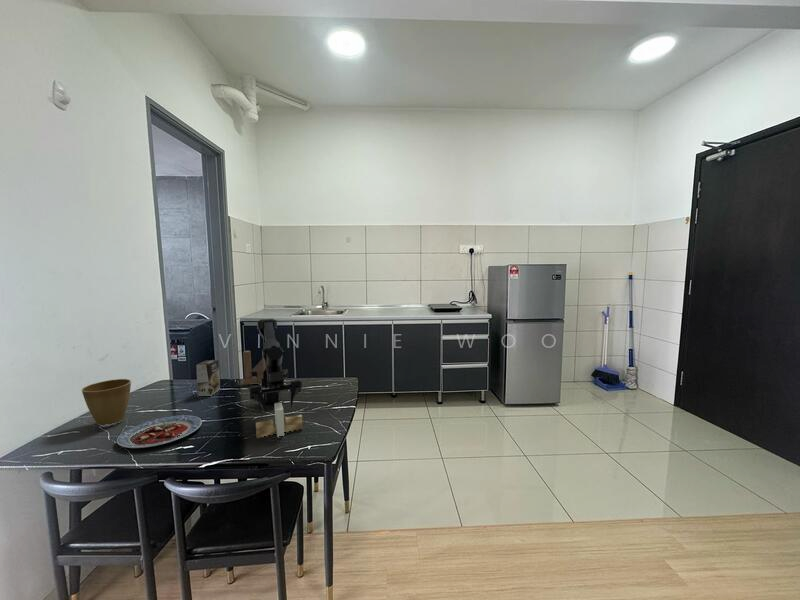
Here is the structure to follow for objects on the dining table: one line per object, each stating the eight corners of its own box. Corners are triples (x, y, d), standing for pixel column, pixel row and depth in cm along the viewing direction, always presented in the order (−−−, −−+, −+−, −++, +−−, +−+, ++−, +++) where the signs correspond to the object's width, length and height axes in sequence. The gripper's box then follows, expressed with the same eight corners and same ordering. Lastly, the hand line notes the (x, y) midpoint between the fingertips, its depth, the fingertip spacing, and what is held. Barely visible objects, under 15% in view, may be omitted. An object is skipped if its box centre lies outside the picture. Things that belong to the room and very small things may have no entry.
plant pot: (99, 418, 144) (96, 380, 143) (140, 414, 148) (137, 377, 146) (75, 434, 130) (71, 392, 128) (122, 429, 133) (119, 388, 132)
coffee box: (210, 397, 167) (208, 364, 166) (197, 397, 167) (195, 364, 166) (220, 390, 176) (219, 359, 175) (208, 390, 176) (206, 359, 175)
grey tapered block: (275, 429, 131) (274, 403, 130) (282, 427, 132) (281, 402, 132) (277, 437, 124) (276, 410, 124) (284, 436, 125) (283, 409, 125)
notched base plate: (256, 438, 124) (255, 424, 124) (256, 435, 126) (255, 422, 126) (302, 429, 131) (302, 416, 130) (301, 427, 133) (301, 414, 132)
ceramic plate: (184, 449, 118) (183, 440, 118) (98, 457, 114) (98, 448, 113) (212, 418, 143) (211, 411, 143) (143, 423, 139) (142, 416, 139)
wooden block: (264, 384, 184) (262, 351, 183) (243, 385, 183) (241, 352, 182) (266, 382, 188) (264, 349, 187) (246, 383, 187) (244, 350, 186)
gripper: (248, 365, 129) (250, 405, 120) (300, 359, 136) (306, 396, 127) (249, 380, 137) (251, 418, 128) (298, 373, 144) (303, 409, 135)
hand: (278, 410), depth 129 cm, fingers open, 9 cm apart
